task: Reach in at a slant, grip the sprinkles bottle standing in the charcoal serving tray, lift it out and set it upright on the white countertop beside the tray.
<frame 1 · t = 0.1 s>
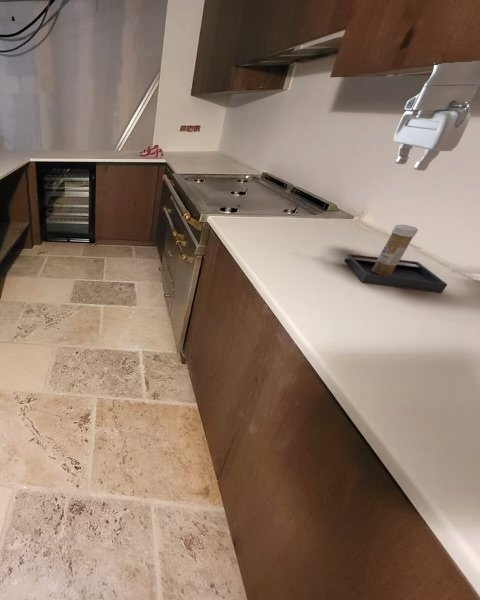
hand: (409, 166, 80), 28 cm above the worktop, tool pointing down, fingers open, 8 cm apart
tray: (388, 275, 90), on the worktop
sprinkles bottle: (380, 273, 90), resting on tray
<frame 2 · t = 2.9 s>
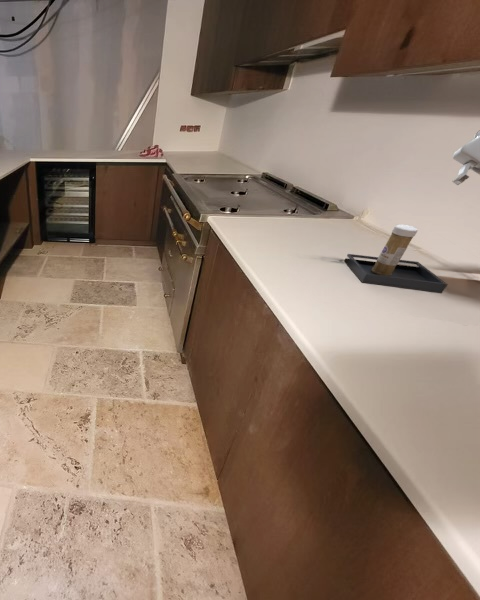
hand: (476, 195, 74), 23 cm above the worktop, tool tilted 45°, fingers open, 8 cm apart
nothing on the worktop moved.
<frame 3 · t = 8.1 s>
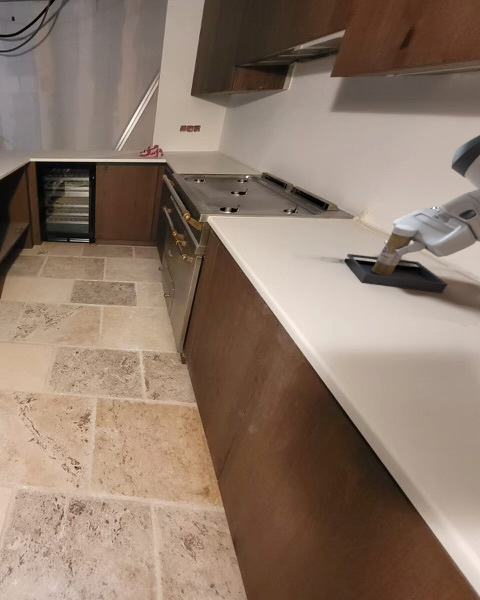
hand: (391, 249, 86), 8 cm above the worktop, tool tilted 45°, fingers closed on sprinkles bottle, 4 cm apart
sprinkles bottle: (380, 273, 90), resting on tray, touching gripper
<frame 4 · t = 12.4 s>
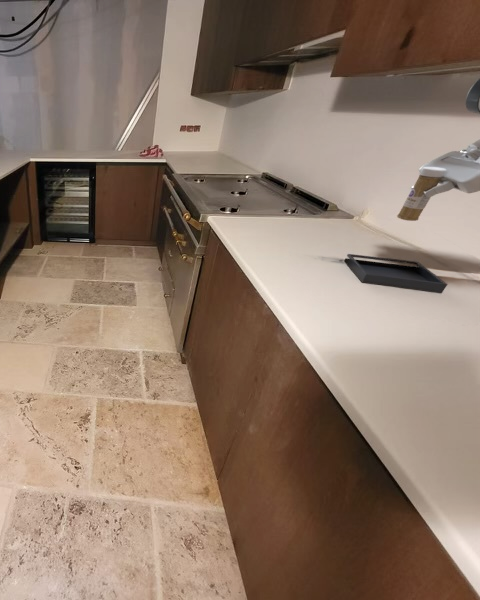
hand: (418, 192, 86), 21 cm above the worktop, tool tilted 45°, fingers closed on sprinkles bottle, 4 cm apart
sprinkles bottle: (406, 219, 90), point 13 cm above the worktop, touching gripper
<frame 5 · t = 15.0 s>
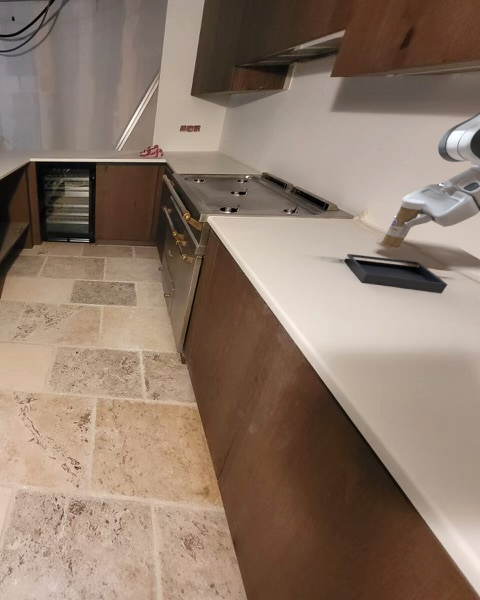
hand: (400, 222, 93), 12 cm above the worktop, tool tilted 45°, fingers closed on sprinkles bottle, 4 cm apart
sprinkles bottle: (389, 246, 97), point 4 cm above the worktop, touching gripper
when the fingers open (7 cm above the worktop, at t = 16.7 s): sprinkles bottle stays where it is, on the worktop.
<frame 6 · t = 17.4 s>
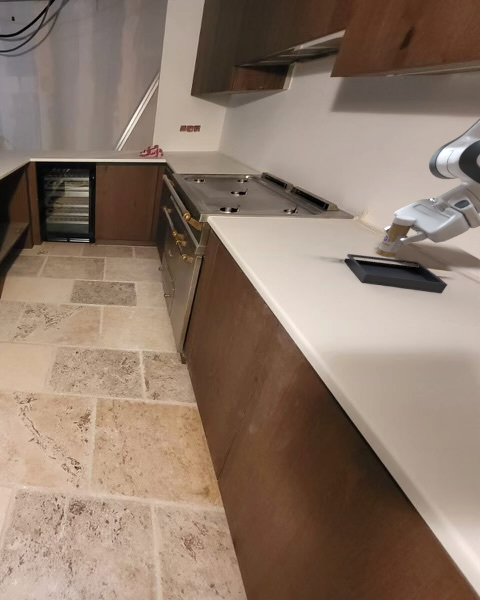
hand: (393, 236, 95), 7 cm above the worktop, tool tilted 45°, fingers open, 8 cm apart
sprinkles bottle: (382, 260, 99), on the worktop
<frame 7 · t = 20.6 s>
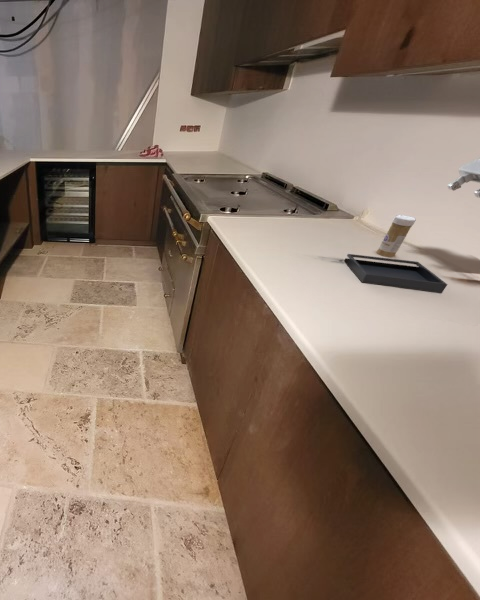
hand: (462, 191, 85), 21 cm above the worktop, tool tilted 50°, fingers open, 8 cm apart
nothing on the worktop moved.
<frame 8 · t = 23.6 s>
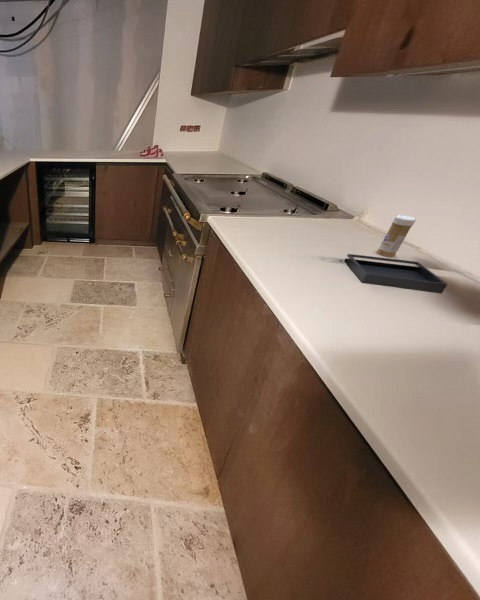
nothing on the worktop moved.
at the end: sprinkles bottle inside the target area (0.2 cm from its centre), on the worktop; sprinkles bottle tilted 0°; sprinkles bottle touching worktop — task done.
